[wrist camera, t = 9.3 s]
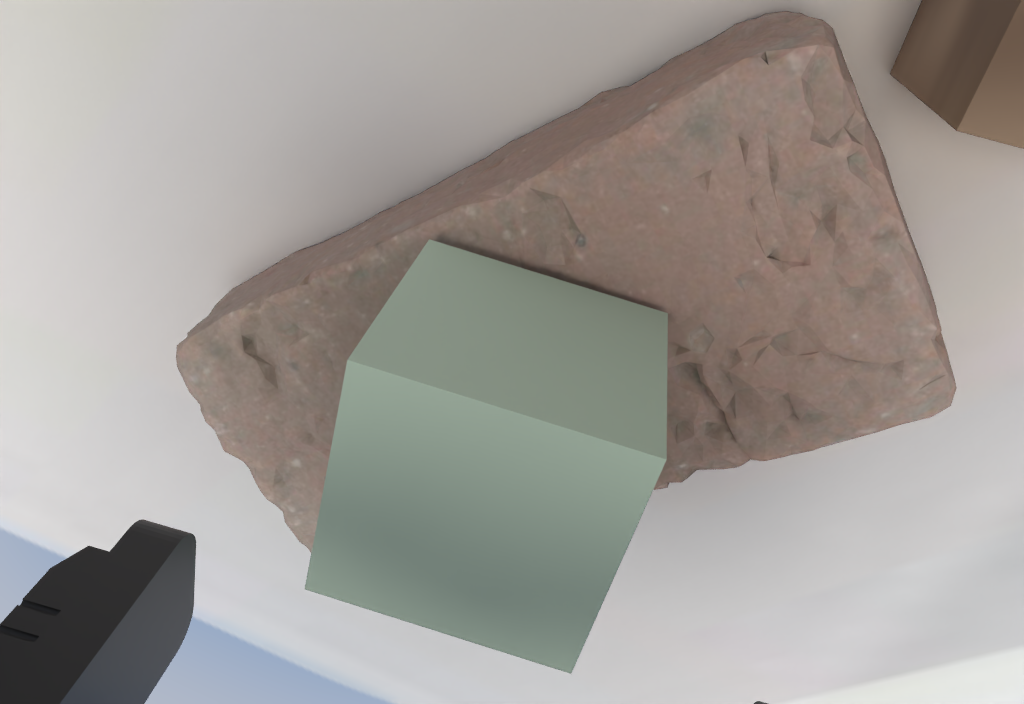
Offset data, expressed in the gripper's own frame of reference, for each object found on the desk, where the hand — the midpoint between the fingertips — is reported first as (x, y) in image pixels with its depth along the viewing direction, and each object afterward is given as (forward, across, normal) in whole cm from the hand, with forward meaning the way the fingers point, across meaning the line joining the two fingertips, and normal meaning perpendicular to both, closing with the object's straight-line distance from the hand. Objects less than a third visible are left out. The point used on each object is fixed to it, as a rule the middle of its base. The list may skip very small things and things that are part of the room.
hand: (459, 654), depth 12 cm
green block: (+7, 0, 0) cm, 7 cm away
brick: (+12, 0, 0) cm, 12 cm away
